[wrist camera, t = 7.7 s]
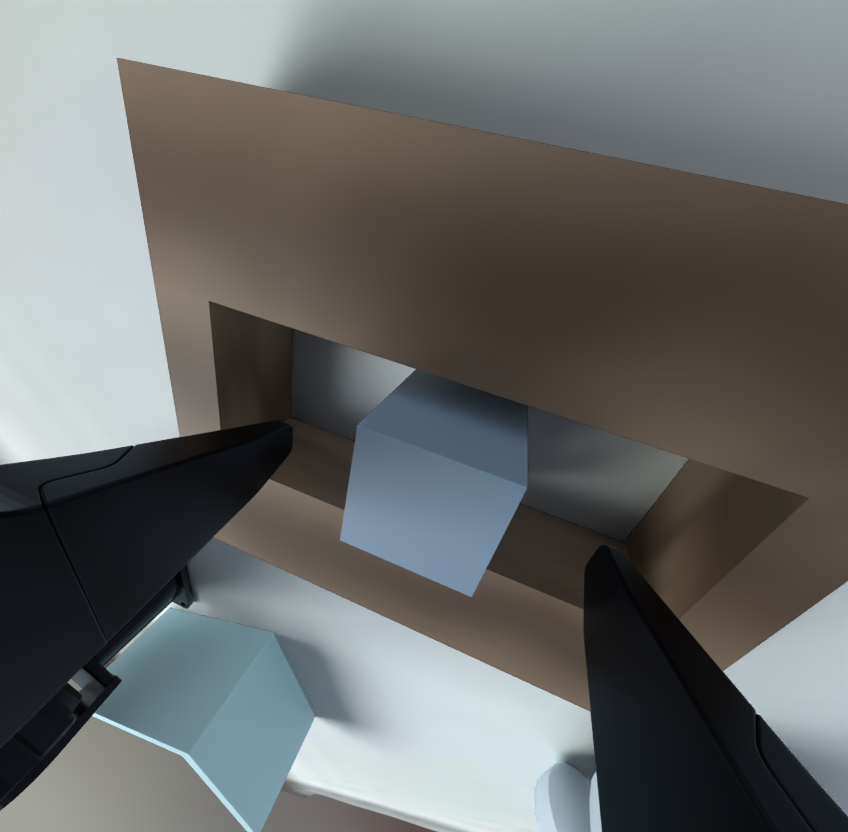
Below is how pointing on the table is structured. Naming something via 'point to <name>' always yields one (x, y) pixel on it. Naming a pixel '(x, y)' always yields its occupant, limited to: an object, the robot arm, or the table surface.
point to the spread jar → (566, 801)
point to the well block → (509, 348)
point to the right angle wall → (214, 706)
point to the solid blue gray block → (437, 478)
